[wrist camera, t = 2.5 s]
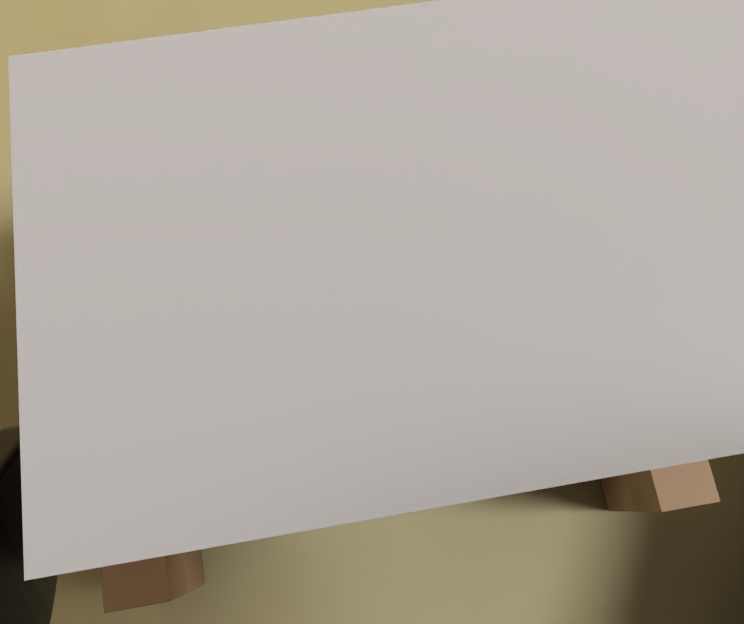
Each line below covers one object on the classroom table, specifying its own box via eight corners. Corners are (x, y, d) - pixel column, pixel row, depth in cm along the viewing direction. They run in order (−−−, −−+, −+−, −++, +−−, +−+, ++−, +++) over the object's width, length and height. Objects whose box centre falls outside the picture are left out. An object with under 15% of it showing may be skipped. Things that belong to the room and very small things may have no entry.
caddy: (544, 477, 16) (922, 421, 5) (255, 528, 16) (23, 580, 5) (502, 293, 18) (739, -57, 7) (232, 336, 17) (8, 38, 6)
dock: (656, 502, 16) (720, 501, 13) (151, 593, 16) (103, 613, 13) (568, 175, 19) (606, 115, 16) (124, 240, 18) (79, 190, 15)
